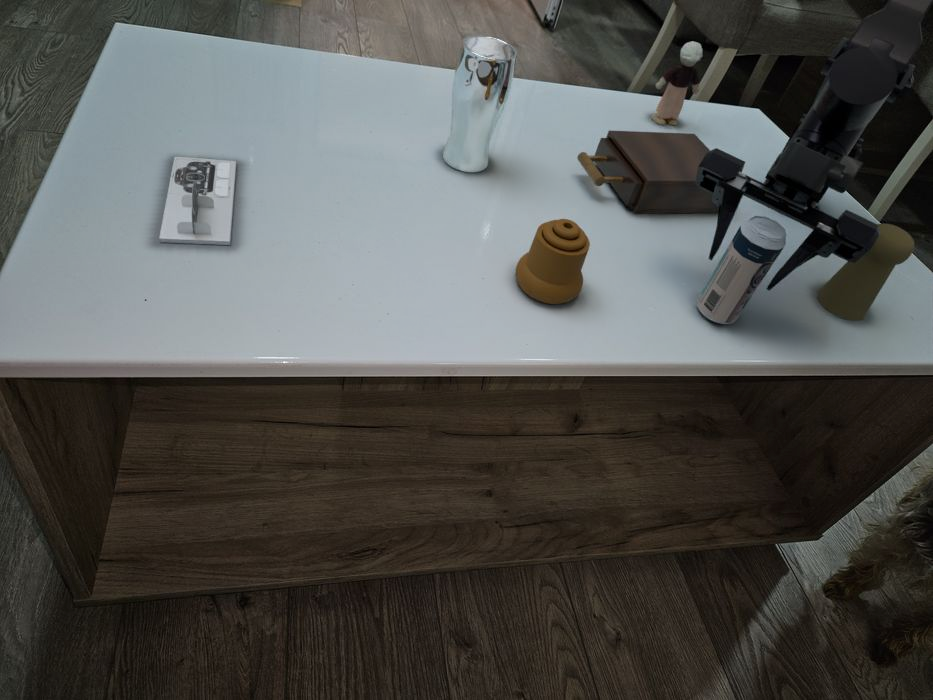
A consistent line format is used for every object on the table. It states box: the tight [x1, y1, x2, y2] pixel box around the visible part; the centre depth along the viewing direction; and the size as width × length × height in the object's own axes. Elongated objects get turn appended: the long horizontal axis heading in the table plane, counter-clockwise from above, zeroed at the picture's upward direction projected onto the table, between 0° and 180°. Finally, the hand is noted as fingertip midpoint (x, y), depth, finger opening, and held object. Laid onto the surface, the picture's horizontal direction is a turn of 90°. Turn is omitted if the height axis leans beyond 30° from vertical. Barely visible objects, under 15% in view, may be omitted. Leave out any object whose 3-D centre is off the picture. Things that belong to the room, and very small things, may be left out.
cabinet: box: [605, 129, 719, 214], centre depth 94 cm, size 14×12×5 cm
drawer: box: [576, 137, 645, 207], centre depth 93 cm, size 18×11×3 cm, turn 107°
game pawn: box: [816, 222, 915, 322], centre depth 81 cm, size 6×6×11 cm
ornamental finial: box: [515, 218, 591, 305], centre depth 73 cm, size 8×8×8 cm
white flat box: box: [158, 155, 237, 246], centre depth 72 cm, size 15×7×4 cm, turn 11°
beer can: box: [696, 215, 787, 325], centre depth 74 cm, size 5×5×12 cm
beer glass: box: [442, 34, 518, 173], centre depth 86 cm, size 7×7×15 cm
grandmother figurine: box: [651, 40, 703, 126], centre depth 107 cm, size 8×4×13 cm, turn 115°
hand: (738, 273), depth 73 cm, fingers open, 6 cm apart
